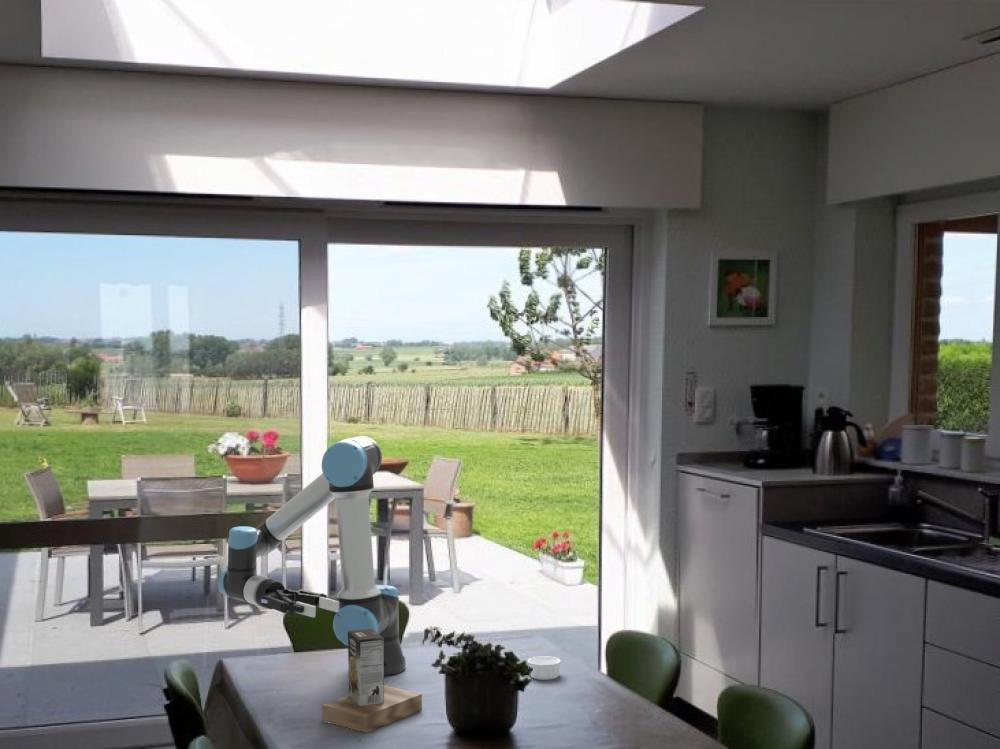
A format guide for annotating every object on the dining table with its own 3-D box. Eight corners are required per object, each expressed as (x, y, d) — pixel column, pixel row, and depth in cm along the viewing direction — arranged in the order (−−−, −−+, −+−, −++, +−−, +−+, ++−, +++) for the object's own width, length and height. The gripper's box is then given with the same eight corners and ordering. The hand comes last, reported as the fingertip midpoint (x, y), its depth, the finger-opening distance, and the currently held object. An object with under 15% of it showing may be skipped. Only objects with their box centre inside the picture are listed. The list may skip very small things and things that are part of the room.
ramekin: (526, 671, 325) (526, 656, 324) (559, 671, 325) (559, 655, 325) (528, 681, 316) (528, 665, 316) (562, 680, 316) (562, 664, 316)
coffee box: (347, 696, 291) (346, 630, 290) (373, 692, 294) (372, 627, 293) (359, 707, 283) (358, 639, 282) (384, 703, 285) (383, 636, 285)
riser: (379, 699, 301) (379, 684, 301) (421, 710, 292) (421, 694, 292) (322, 721, 285) (322, 704, 285) (365, 732, 277) (365, 715, 276)
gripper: (293, 600, 324) (353, 617, 310) (234, 612, 308) (295, 630, 294) (294, 573, 324) (355, 589, 310) (235, 583, 307) (297, 600, 294)
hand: (326, 609), depth 302 cm, fingers open, 8 cm apart
